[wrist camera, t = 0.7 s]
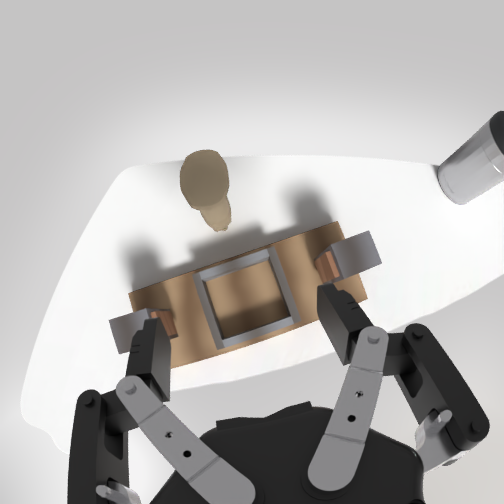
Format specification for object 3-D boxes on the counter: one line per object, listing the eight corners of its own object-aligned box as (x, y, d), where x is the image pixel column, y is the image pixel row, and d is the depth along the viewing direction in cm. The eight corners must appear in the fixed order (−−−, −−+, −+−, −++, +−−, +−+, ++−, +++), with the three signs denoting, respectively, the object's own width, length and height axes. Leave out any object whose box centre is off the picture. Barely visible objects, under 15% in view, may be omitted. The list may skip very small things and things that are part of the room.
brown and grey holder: (334, 225, 42) (358, 197, 31) (362, 299, 39) (397, 294, 28) (133, 294, 40) (96, 287, 29) (158, 370, 37) (127, 388, 27)
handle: (206, 245, 41) (181, 210, 26) (202, 204, 42) (179, 154, 28) (239, 240, 41) (231, 202, 26) (234, 200, 42) (224, 146, 28)
